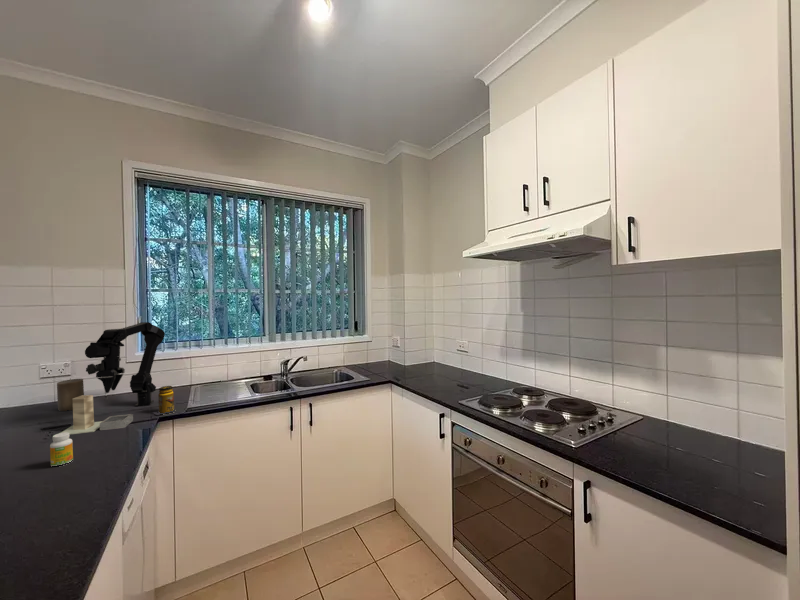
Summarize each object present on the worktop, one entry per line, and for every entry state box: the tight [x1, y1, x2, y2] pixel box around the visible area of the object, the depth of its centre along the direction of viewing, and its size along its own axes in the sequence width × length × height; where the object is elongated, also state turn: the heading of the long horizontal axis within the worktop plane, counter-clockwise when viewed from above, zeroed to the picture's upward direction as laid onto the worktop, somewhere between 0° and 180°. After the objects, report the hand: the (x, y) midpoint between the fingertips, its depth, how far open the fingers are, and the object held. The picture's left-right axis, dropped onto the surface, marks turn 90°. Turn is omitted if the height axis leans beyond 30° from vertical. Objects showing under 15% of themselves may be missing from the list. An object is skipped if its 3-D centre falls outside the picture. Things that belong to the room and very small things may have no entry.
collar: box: [99, 413, 134, 431], centre depth 148 cm, size 8×8×3 cm
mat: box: [60, 420, 103, 435], centre depth 145 cm, size 12×12×1 cm
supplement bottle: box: [49, 432, 74, 467], centre depth 115 cm, size 5×5×10 cm
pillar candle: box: [56, 378, 85, 412], centre depth 172 cm, size 10×10×15 cm
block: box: [72, 394, 95, 430], centre depth 145 cm, size 4×4×13 cm
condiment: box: [158, 385, 175, 413], centre depth 164 cm, size 7×8×12 cm
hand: (110, 391), depth 156 cm, fingers open, 9 cm apart
